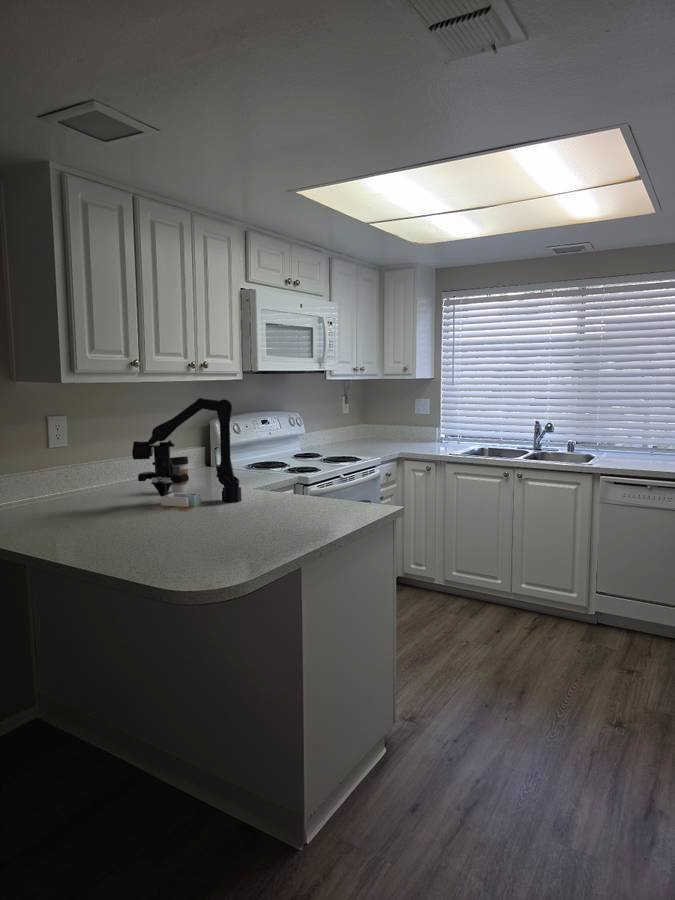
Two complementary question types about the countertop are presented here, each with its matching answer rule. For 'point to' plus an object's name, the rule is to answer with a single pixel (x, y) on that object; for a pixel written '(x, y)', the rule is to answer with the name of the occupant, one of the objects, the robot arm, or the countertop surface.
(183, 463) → the coffee cup
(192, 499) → the teal hollow cube
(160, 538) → the countertop surface
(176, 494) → the white bent bar
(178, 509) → the board
